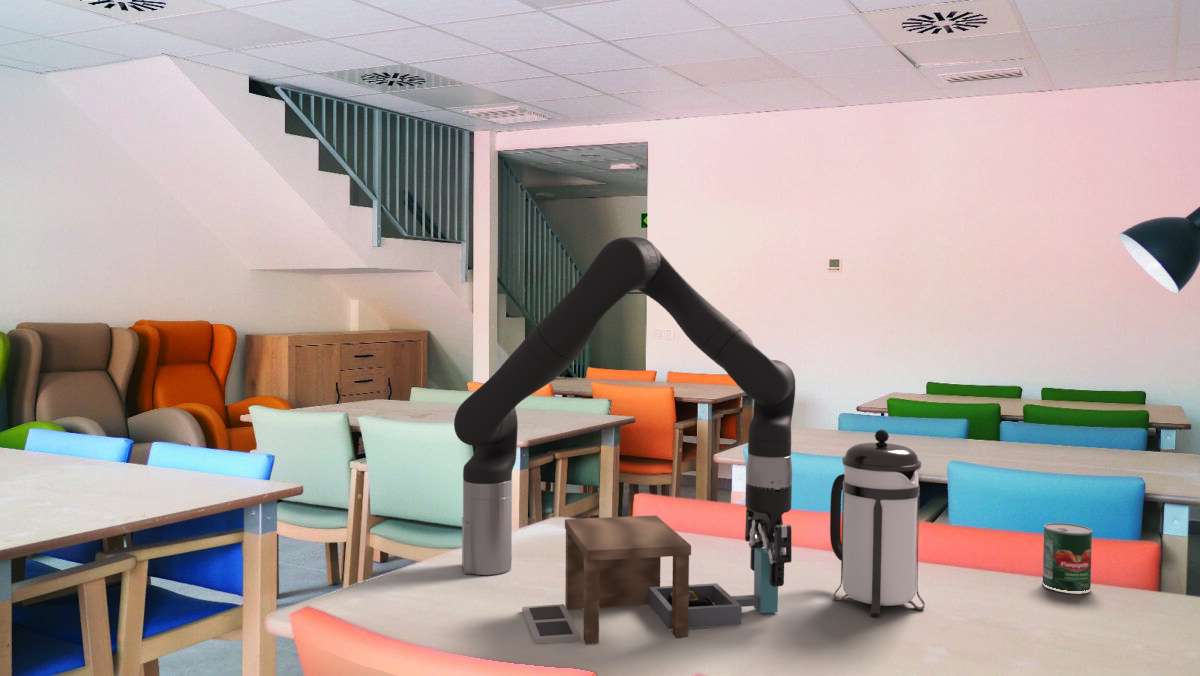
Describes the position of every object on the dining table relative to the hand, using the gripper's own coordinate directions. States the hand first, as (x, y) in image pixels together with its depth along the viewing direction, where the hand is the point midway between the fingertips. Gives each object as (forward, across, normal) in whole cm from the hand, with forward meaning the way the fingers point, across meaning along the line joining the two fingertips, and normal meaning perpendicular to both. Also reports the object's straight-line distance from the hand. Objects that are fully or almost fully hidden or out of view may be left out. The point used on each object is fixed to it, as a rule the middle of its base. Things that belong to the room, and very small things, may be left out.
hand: (766, 577), depth 156 cm
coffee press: (+6, -1, +20) cm, 20 cm away
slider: (+5, 0, -9) cm, 10 cm away
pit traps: (+6, 0, -36) cm, 37 cm away
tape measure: (+6, 0, -13) cm, 14 cm away
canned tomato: (+6, -2, +59) cm, 59 cm away
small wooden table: (+6, 0, -24) cm, 25 cm away
